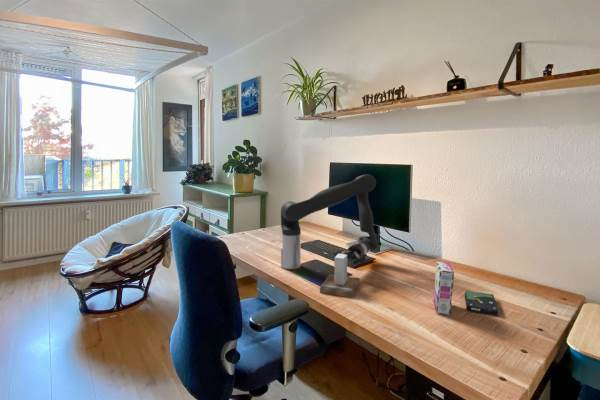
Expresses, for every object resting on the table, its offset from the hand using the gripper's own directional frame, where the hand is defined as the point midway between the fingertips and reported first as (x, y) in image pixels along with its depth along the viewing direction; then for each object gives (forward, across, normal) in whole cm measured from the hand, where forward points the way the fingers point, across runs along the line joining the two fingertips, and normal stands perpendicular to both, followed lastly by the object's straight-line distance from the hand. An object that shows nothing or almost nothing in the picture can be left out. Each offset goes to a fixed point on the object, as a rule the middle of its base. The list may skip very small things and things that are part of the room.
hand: (344, 261), depth 143 cm
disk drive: (-7, +53, +11) cm, 55 cm away
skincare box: (+4, 0, +9) cm, 10 cm away
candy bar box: (+3, +40, +11) cm, 42 cm away
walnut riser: (+4, 0, +10) cm, 11 cm away
